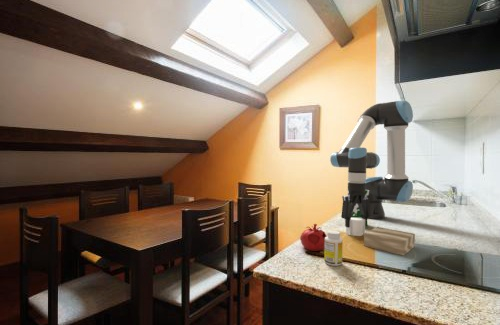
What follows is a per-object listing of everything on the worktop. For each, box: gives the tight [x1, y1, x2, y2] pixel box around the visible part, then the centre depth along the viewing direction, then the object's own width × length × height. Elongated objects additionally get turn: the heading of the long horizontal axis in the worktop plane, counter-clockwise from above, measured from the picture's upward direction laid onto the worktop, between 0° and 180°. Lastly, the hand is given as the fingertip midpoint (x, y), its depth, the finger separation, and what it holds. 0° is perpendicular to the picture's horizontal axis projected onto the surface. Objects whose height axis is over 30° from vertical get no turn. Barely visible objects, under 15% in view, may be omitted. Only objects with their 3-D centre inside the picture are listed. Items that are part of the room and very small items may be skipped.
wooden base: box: [363, 226, 416, 256], centre depth 107 cm, size 14×14×5 cm
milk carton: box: [346, 188, 369, 227], centre depth 140 cm, size 9×9×20 cm
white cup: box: [350, 217, 364, 237], centre depth 122 cm, size 7×7×7 cm
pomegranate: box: [299, 223, 327, 252], centre depth 103 cm, size 10×10×9 cm
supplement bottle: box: [323, 229, 344, 267], centre depth 89 cm, size 6×6×10 cm
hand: (355, 233), depth 122 cm, fingers closed on white cup, 7 cm apart
